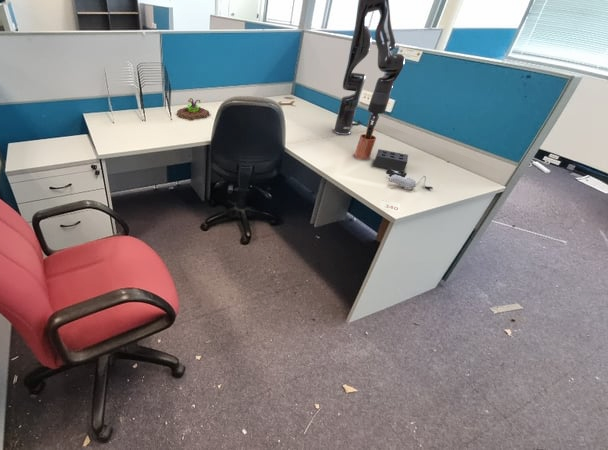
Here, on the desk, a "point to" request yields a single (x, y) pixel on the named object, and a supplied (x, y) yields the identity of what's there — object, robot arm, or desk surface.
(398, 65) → the robot arm
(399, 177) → the clip-on lamp
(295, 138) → the desk surface
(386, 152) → the holder
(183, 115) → the plant
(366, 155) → the pen cup
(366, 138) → the orange cylinder rod
